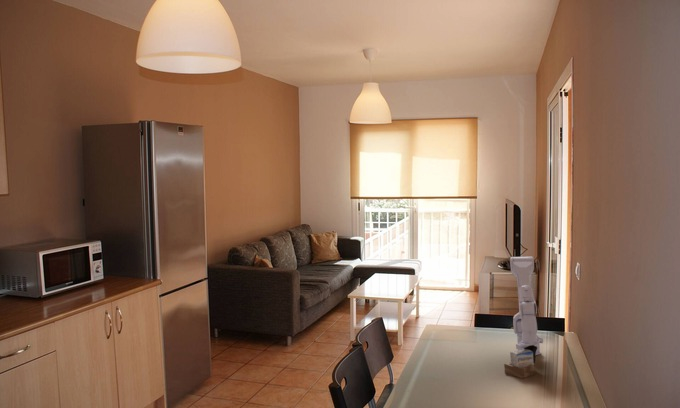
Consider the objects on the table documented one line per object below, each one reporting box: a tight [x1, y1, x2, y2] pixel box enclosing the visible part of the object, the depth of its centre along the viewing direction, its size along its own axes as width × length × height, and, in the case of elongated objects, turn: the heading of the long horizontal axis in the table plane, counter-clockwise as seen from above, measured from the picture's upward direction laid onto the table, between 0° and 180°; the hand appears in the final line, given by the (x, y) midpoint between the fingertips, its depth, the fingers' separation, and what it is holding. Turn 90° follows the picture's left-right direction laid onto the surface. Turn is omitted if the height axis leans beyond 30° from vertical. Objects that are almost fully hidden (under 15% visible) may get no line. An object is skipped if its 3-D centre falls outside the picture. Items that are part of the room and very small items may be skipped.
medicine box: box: [509, 349, 535, 368], centre depth 219 cm, size 8×4×9 cm, turn 107°
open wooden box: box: [503, 361, 535, 379], centre depth 219 cm, size 7×9×4 cm
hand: (530, 363), depth 222 cm, fingers closed, pressing on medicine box
